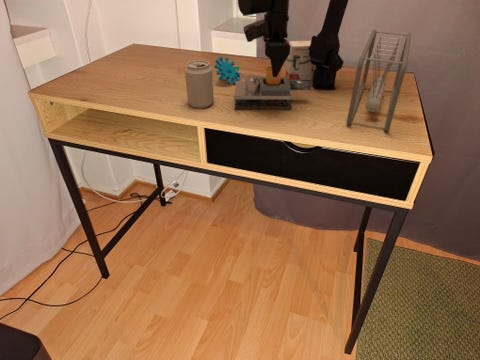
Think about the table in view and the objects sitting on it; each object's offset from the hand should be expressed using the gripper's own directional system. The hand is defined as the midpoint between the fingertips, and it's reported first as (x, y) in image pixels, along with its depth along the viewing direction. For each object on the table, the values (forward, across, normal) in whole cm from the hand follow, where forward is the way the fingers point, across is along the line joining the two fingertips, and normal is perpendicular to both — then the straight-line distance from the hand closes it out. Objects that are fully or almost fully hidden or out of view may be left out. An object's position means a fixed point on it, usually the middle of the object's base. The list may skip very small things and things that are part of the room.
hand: (273, 70), depth 100 cm
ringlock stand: (+9, 0, 0) cm, 9 cm away
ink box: (+9, -18, +10) cm, 22 cm away
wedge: (+8, 0, 0) cm, 8 cm away
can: (+9, +2, -21) cm, 23 cm away
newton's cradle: (+9, +4, +29) cm, 30 cm away
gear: (+9, -16, -13) cm, 23 cm away
